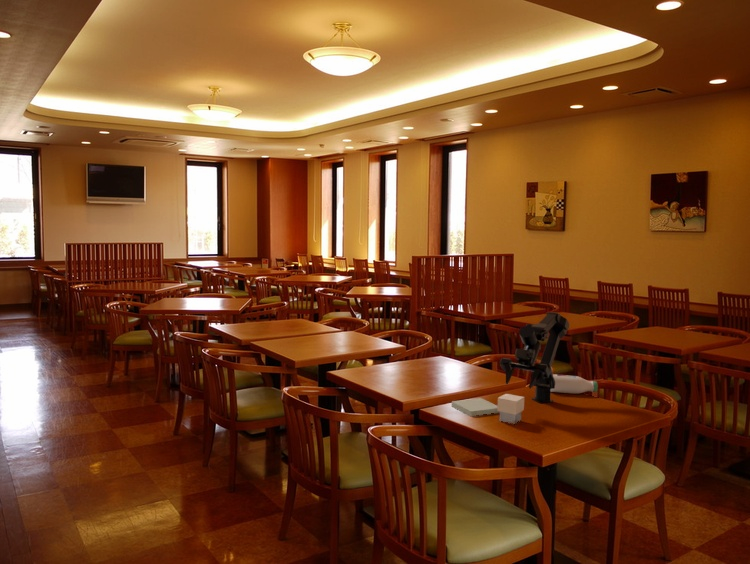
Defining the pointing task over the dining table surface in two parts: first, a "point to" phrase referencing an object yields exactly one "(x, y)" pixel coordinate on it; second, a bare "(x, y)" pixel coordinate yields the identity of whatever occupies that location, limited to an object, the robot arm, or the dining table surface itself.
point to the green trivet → (475, 407)
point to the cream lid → (510, 404)
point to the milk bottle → (573, 384)
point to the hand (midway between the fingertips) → (517, 385)
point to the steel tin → (510, 417)
